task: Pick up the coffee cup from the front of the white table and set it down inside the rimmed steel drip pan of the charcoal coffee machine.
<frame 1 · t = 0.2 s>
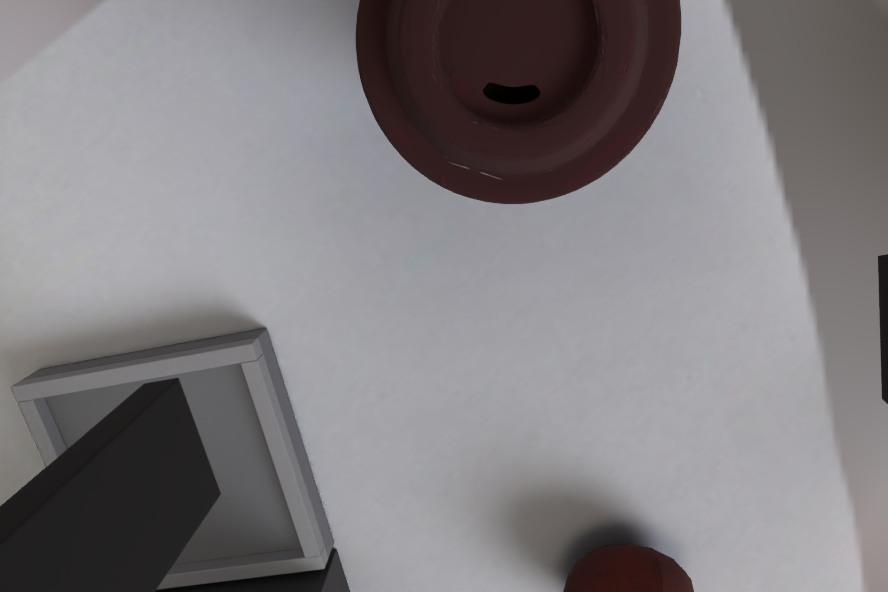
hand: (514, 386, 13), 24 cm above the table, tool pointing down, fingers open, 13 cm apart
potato: (619, 565, 42), on the table
coffee machine: (190, 457, 42), on the table
coffee cup: (511, 55, 33), on the table
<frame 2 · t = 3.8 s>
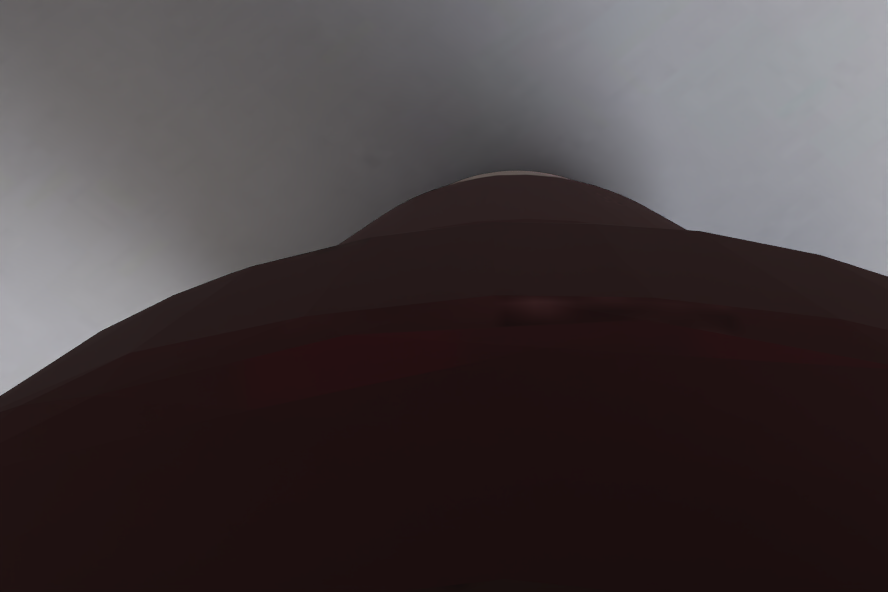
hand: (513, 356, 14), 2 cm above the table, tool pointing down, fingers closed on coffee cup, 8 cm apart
coffee cup: (513, 316, 16), on the table, touching gripper
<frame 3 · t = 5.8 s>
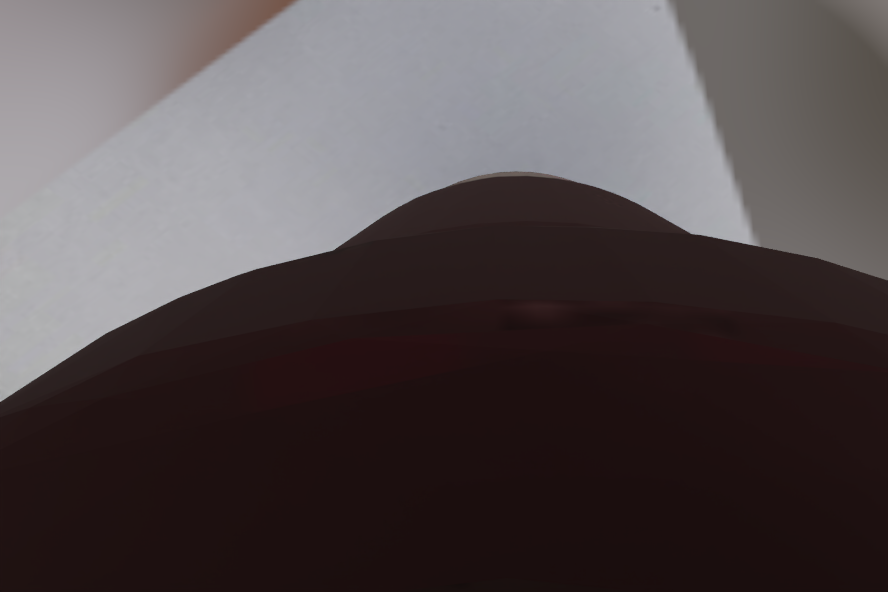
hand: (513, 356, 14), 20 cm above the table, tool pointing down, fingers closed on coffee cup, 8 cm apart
coffee cup: (513, 316, 16), point 17 cm above the table, touching gripper
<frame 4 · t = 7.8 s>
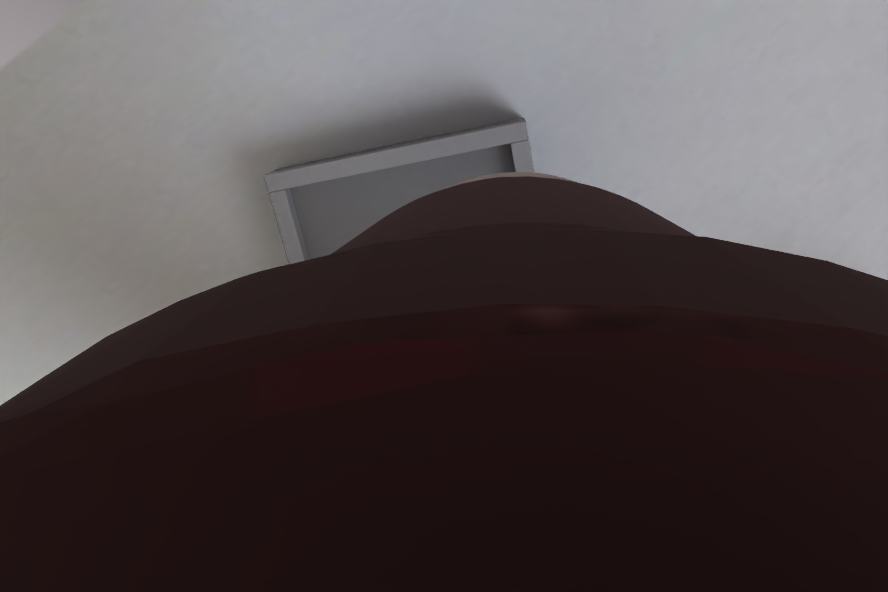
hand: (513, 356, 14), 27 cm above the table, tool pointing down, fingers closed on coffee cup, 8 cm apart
coffee machine: (424, 265, 42), on the table
coffee cup: (514, 317, 16), point 24 cm above the table, touching gripper
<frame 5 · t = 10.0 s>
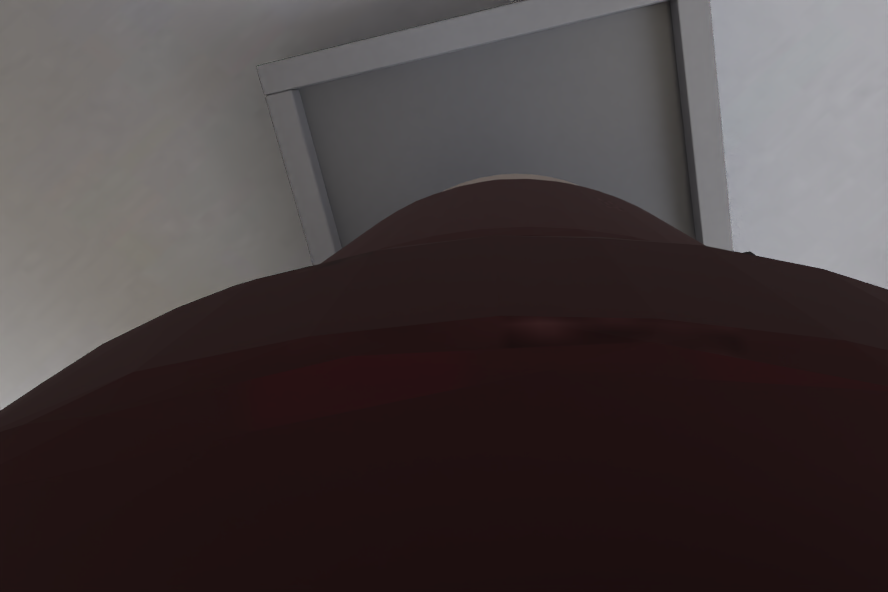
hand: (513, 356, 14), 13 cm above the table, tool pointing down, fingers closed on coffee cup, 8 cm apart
coffee machine: (511, 219, 26), on the table
coffee cup: (513, 319, 16), point 11 cm above the table, touching gripper
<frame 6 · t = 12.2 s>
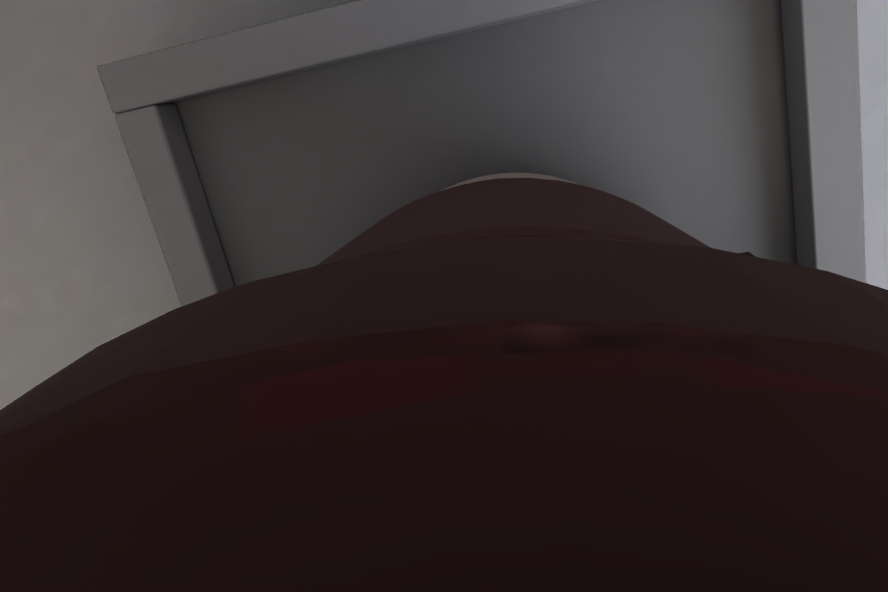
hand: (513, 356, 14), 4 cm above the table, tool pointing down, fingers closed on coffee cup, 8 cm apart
coffee machine: (512, 297, 18), on the table
coffee cup: (513, 318, 16), point 1 cm above the table, touching coffee machine, gripper
when the fingers open (4 cm above the table, at t = 12.3 s): coffee cup stays where it is, resting on coffee machine.
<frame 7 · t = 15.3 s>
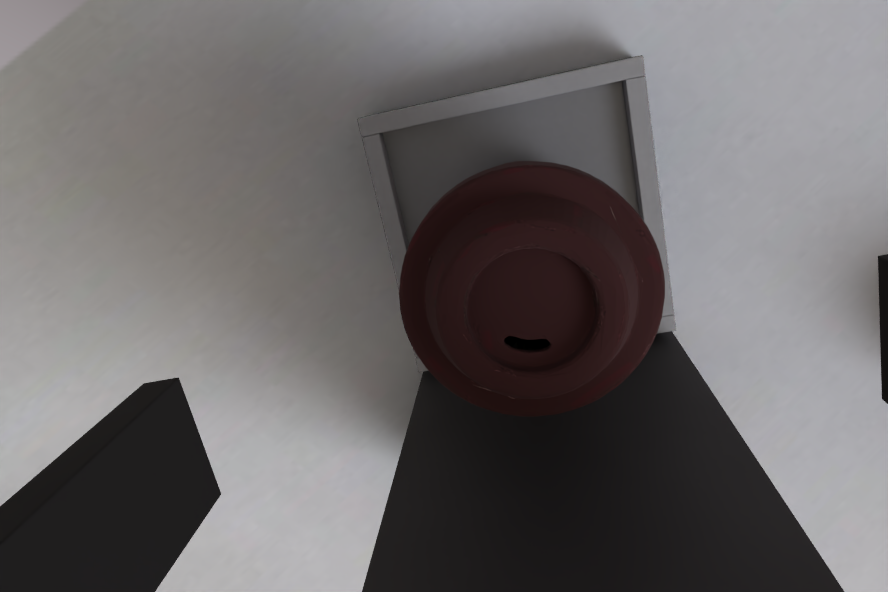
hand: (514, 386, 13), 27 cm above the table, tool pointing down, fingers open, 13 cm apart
coffee machine: (520, 218, 39), on the table
coffee cup: (521, 224, 38), point 1 cm above the table, touching coffee machine
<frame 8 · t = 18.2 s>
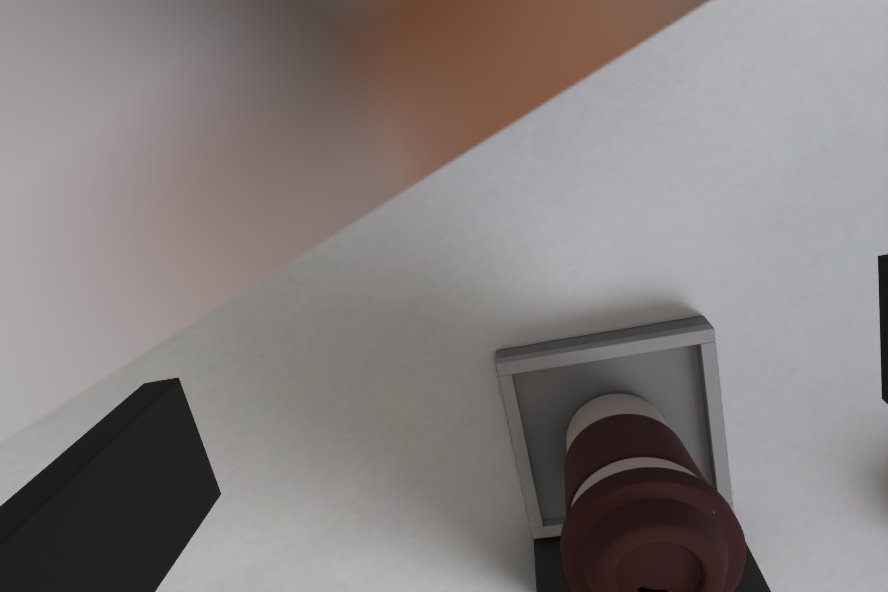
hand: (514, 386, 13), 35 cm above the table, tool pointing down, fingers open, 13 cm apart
coffee machine: (612, 423, 51), on the table
coffee cup: (615, 433, 50), point 1 cm above the table, touching coffee machine
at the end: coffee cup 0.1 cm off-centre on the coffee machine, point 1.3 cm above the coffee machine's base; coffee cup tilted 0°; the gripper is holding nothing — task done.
